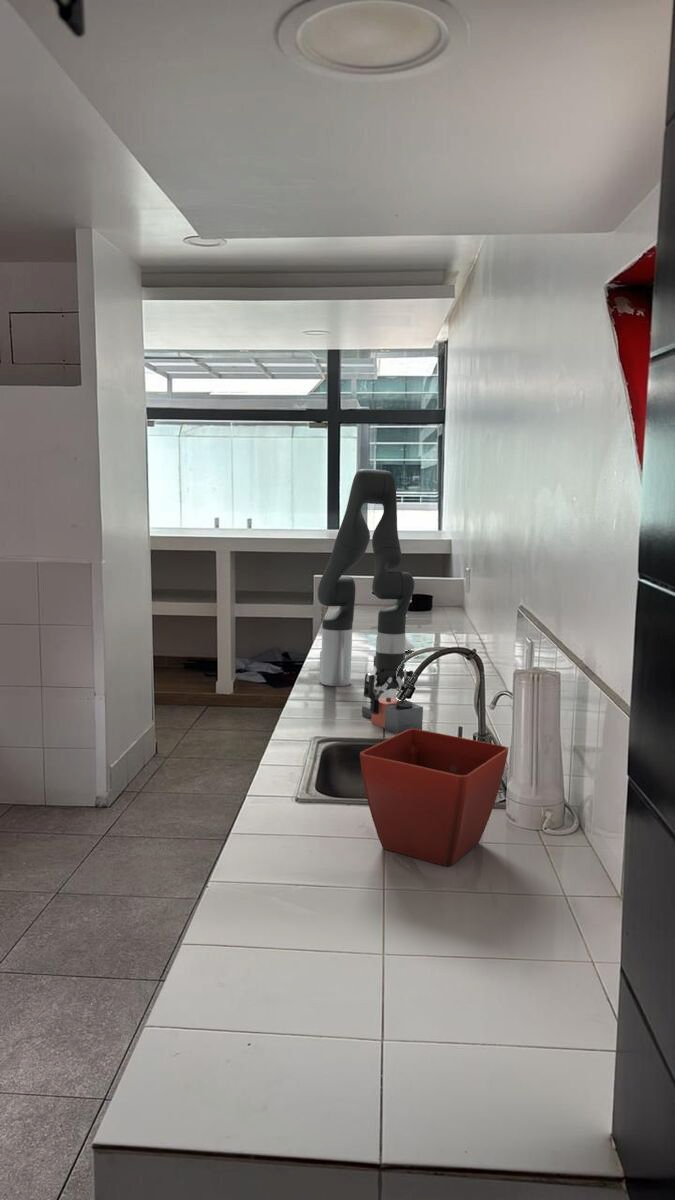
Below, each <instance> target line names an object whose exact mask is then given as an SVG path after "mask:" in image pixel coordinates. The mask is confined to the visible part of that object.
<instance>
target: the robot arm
mask: <svg viewBox="0 0 675 1200" xmlns="http://www.w3.org/2000/svg"><path fill="white" fill-rule="evenodd" d="M397 501H398V498H397V484H396V479H395V475H394V474H393V473H392V472H391V471H389V470H384V469H372V468H361V469H358V470H357V471H356V473H355V475H354V477H353V480H352V483H351V487H350V491H349V496H348V501H347V504H346V509H345V512H344V515H343V519H342V522H341V524H340V527H339V529H338V531H337V535H336V538H335V542H334V544H333V547H332V551H331V555H330V558H329V560H328V562H327V565H326V567H325V570H324V571H323V574H322V576H321V578H320V580H319V584H318V587H317V599H318V602H319V603H320V604H321V605H322V606H324V607H339V609H338V610H337V611H336V612H335V613H333V614H331V615H328V616H326V617H324V618H323V619H322V621H321V622H322V626H321V629H322V630H321V650H320V652H319V680H318V681H319V682H320V684H321V685H325V686H330V687H332V686H333V687H345V686H349V685H351V680H352V679H351V675H352V673H351V672H352V654H353V653H352V649H353V647H352V646H353V623H354V616H355V602H356V601H355V600H356V582H355V580H354V577H352V576H349V575H344V574H345V573H346V572H347V571H349V570H350V569H351V568H353V567H354V566H355V565H357V564H358V563H359V562H360V561H361V560H362V559H363V557H364V556H365V554H366V552H367V548H368V545H369V543H370V539H371V532H370V529H369V527H368V524H367V522H366V520H365V518H364V516H363V513H362V507H363V505H364V504H373V505H382V507H383V514H382V516H381V518H380V519H379V520H378V521H379V522H378V523H377V525H376V527H375V529H374V530H373V533H372V539H371V544H372V545H371V547H372V552H373V557H374V573H373V578H372V588H371V589H372V592H373V595H374V596H375V597H376V598H377V599H378V600H396V602H395V604H393V605H392V606H390V607H385V608H382V609H380V610H379V611H378V615H377V634H376V639H375V640H376V642H375V656H376V661H375V666H376V669H377V670H376V673H375V674H373V673H372V674H371V673H368V672H367V673H366V674H364V675H365V676H364V687H363V696H364V697H365V698H368V699H369V700H370V704H369V706H370V711H371V712H372V713H373V714H375V715H376V714H378V713H379V700H378V699H379V697H380V696H381V694H382V693H384V691H385V690H389V689H396V690H397V691H399V689H400V686H401V685H402V684H404V683H405V682H406V681H407V680H408V679H409V678H410V677H411V676H412V674H413V673H414V670H412V669H411V670H410V669H408V668H406V663H405V664H403V665H402V666H401V668H400V669H399V671H398V674H397V677H396V671H397V668H398V666H399V665H400V664H401V662H402V661H403V660H404V659H405V660H406V652H405V649H406V638H407V637H406V624H407V623H406V620H407V617H406V615H407V616H408V614H407V613H408V611H409V607H410V603H411V602H410V600H412V598H413V595H414V590H415V580H414V577H413V575H412V574H411V573H410V572H409V571H392V570H395V569H397V568H399V567H400V566H401V565H402V562H403V555H402V551H401V546H400V545H401V544H400V540H399V534H398V533H399V532H398V508H397V507H398V505H397V504H398V503H397ZM411 597H412V598H411ZM405 637H406V638H405ZM375 680H376V681H375ZM374 682H376V683H375V685H374ZM379 686H380V687H381V688H379ZM405 701H408V700H405Z"/></svg>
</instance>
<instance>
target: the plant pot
mask: <svg viewBox="0 0 675 1200" xmlns="http://www.w3.org/2000/svg"><path fill="white" fill-rule="evenodd" d="M508 754H509V747H508V746H505V745H500V744H494V743H490V742H485V741H484V742H483V741H480V740H475V739H470V738H464V737H460V736H454V735H449V734H445V733H441V732H440V733H438V732H434V731H429V730H424V729H422V730H419V729H408V730H405V731H403V732H401V733H399V734H395V735H393V736H391V737H389V738H387V739H385V740H383V741H381V742H379V743H377V744H375V745H372V746H371V747H368V748H366V749H364V750H362V751H360V753H359V759H360V767H361V774H362V780H363V786H364V787H363V788H364V791H365V794H366V799H367V803H368V807H369V811H370V815H371V818H372V821H373V824H374V827H375V830H376V833H377V837H378V840H379V842H380V844H381V847H382V848H383V849H385V850H387V851H389V852H390V851H391V852H394V853H397V854H401V855H405V856H409V857H411V858H412V857H413V858H416V859H419V860H422V861H425V862H430V863H434V864H437V865H441V866H445V867H450V866H453V865H454V864H455V863H457V861H459V860H460V859H461V858H462V857H464V855H466V854H467V853H468V852H469V851H471V850H472V849H473V848H474V847H475V846H476V845H478V844H479V842H480V841H481V839H482V836H483V834H484V833H485V829H486V827H487V825H488V822H489V821H490V820H489V819H490V817H491V814H492V811H493V809H494V806H495V803H496V800H497V797H498V794H499V791H500V788H501V785H502V781H503V775H504V772H505V768H506V763H507V759H508Z"/></svg>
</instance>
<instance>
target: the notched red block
mask: <svg viewBox="0 0 675 1200" xmlns="http://www.w3.org/2000/svg"><path fill="white" fill-rule="evenodd" d="M378 700H379V713H378V714H376V715H375V714H373V713H372V718H371V724H374V723H375V724H374V725H377V726H379V727H382V728H384V729H385V708H386V706H389V705H396V703H397V701H399V700H397V699H395V698H392V697H387V698H381V699H378Z"/></svg>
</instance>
